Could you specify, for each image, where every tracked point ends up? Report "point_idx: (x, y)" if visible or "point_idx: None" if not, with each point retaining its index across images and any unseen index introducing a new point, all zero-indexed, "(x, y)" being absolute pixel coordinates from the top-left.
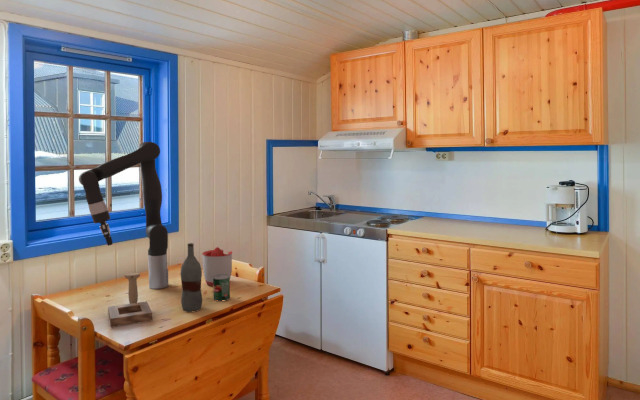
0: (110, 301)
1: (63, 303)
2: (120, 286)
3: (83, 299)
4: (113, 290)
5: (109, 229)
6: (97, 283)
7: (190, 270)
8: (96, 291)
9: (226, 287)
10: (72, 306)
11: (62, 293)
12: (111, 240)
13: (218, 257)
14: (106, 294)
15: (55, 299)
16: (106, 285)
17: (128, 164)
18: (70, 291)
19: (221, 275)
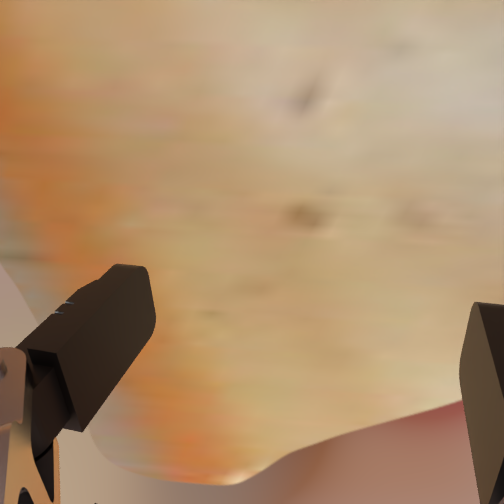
0: (434, 211)
1: (345, 428)
2: (144, 139)
3: (319, 340)
4: (212, 182)
5: (7, 487)
6: (46, 256)
7: None
8: (196, 270)
9: None
10: (422, 396)
11: (169, 417)
12: (496, 350)
13: None
14: (277, 224)
15: (258, 452)
16: (98, 214)
17: None
18: (148, 384)
19: None
